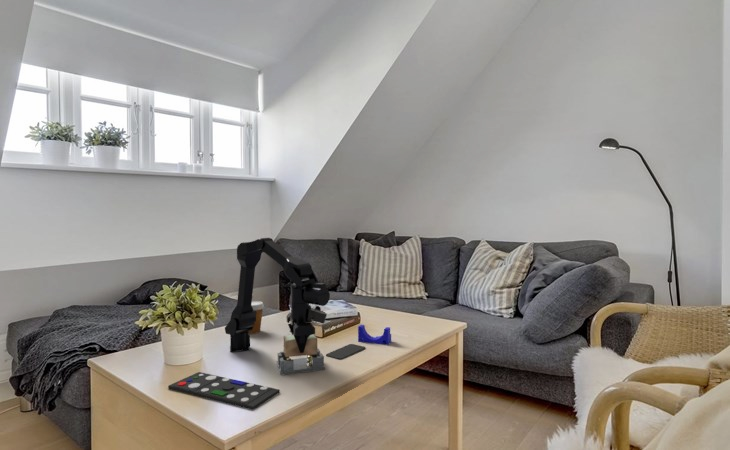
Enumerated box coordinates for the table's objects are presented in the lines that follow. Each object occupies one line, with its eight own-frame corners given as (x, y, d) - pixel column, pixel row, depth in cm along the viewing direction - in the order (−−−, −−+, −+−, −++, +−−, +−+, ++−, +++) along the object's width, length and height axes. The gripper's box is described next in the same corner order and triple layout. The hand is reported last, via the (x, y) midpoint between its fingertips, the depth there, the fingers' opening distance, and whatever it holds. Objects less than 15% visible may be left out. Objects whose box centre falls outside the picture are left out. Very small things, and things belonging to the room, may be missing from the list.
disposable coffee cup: (263, 334, 172) (262, 305, 172) (239, 335, 170) (238, 306, 170) (265, 328, 181) (264, 300, 181) (242, 329, 180) (241, 301, 180)
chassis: (280, 375, 129) (280, 362, 129) (276, 364, 139) (276, 352, 139) (325, 369, 134) (325, 357, 134) (318, 359, 143) (318, 347, 143)
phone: (324, 354, 147) (350, 343, 159) (324, 357, 147) (350, 345, 159) (340, 359, 142) (366, 347, 154) (340, 361, 142) (366, 349, 155)
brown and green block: (285, 357, 132) (285, 340, 132) (283, 351, 138) (283, 335, 137) (317, 354, 135) (317, 337, 135) (314, 348, 141) (314, 332, 140)
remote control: (198, 376, 130) (198, 370, 130) (279, 394, 117) (279, 387, 117) (168, 390, 120) (168, 383, 120) (253, 412, 107) (252, 404, 107)
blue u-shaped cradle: (391, 341, 163) (391, 326, 163) (387, 345, 159) (387, 329, 158) (362, 338, 167) (362, 323, 167) (358, 342, 163) (358, 326, 162)
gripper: (331, 306, 129) (331, 356, 130) (318, 294, 147) (318, 338, 148) (295, 308, 126) (295, 360, 126) (286, 296, 143) (286, 341, 144)
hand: (300, 349), depth 136 cm, fingers closed on brown and green block, 6 cm apart
